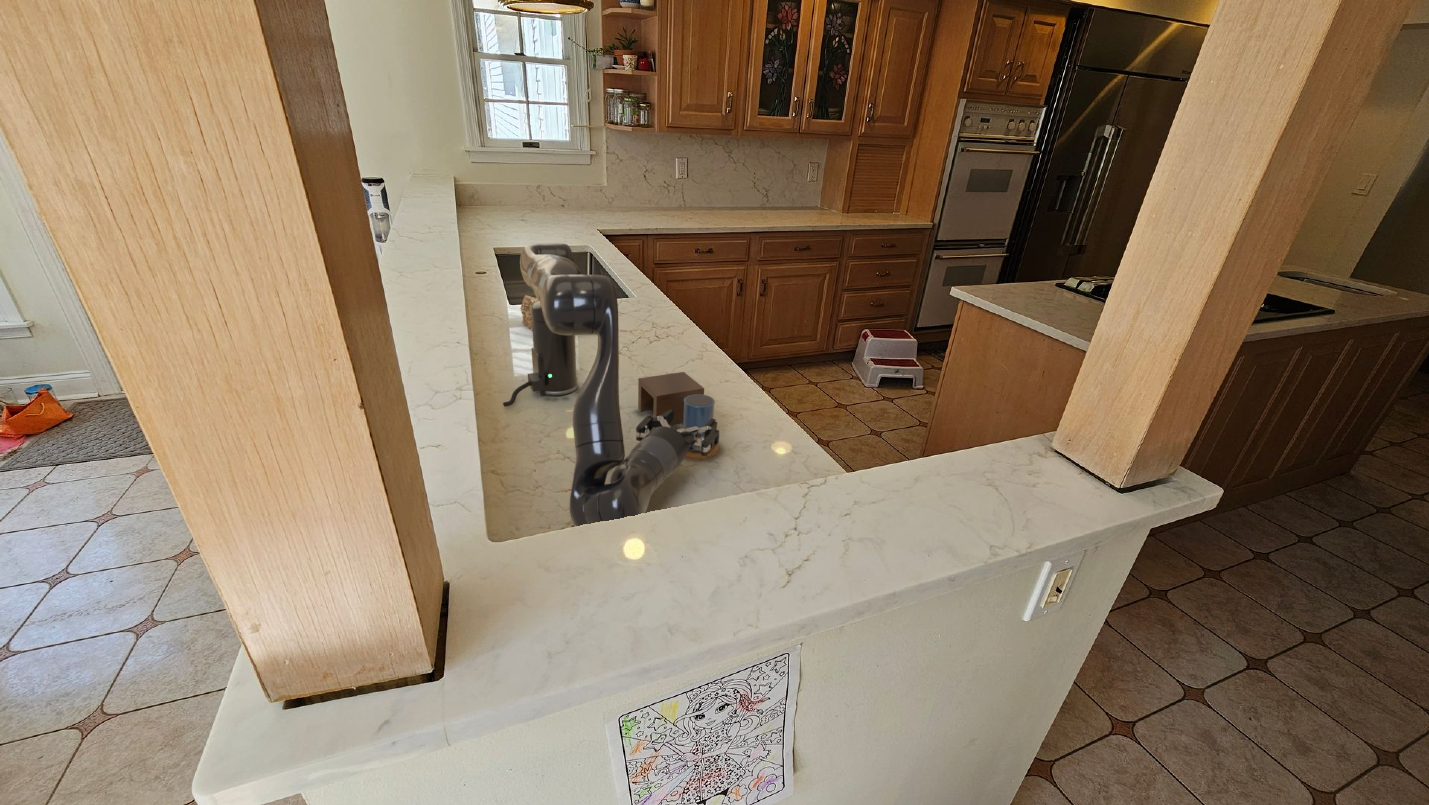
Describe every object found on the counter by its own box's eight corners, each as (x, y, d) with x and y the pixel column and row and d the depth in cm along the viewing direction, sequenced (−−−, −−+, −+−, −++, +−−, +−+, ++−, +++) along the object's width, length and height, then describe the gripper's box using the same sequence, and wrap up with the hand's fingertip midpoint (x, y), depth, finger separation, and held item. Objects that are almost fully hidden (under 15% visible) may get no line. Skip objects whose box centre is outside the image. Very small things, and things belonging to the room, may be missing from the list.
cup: (690, 455, 118) (692, 408, 114) (676, 441, 123) (678, 396, 118) (717, 449, 120) (720, 404, 116) (703, 436, 125) (705, 392, 121)
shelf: (656, 430, 128) (656, 396, 124) (638, 411, 136) (638, 378, 132) (702, 421, 133) (704, 388, 129) (682, 403, 141) (683, 371, 137)
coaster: (686, 463, 116) (686, 460, 116) (666, 442, 123) (666, 439, 123) (727, 454, 120) (727, 451, 120) (706, 434, 127) (706, 431, 127)
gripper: (696, 446, 98) (729, 407, 112) (617, 428, 102) (658, 393, 116) (694, 486, 101) (726, 443, 115) (618, 467, 105) (657, 428, 119)
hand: (692, 418), depth 115 cm, fingers open, 8 cm apart
